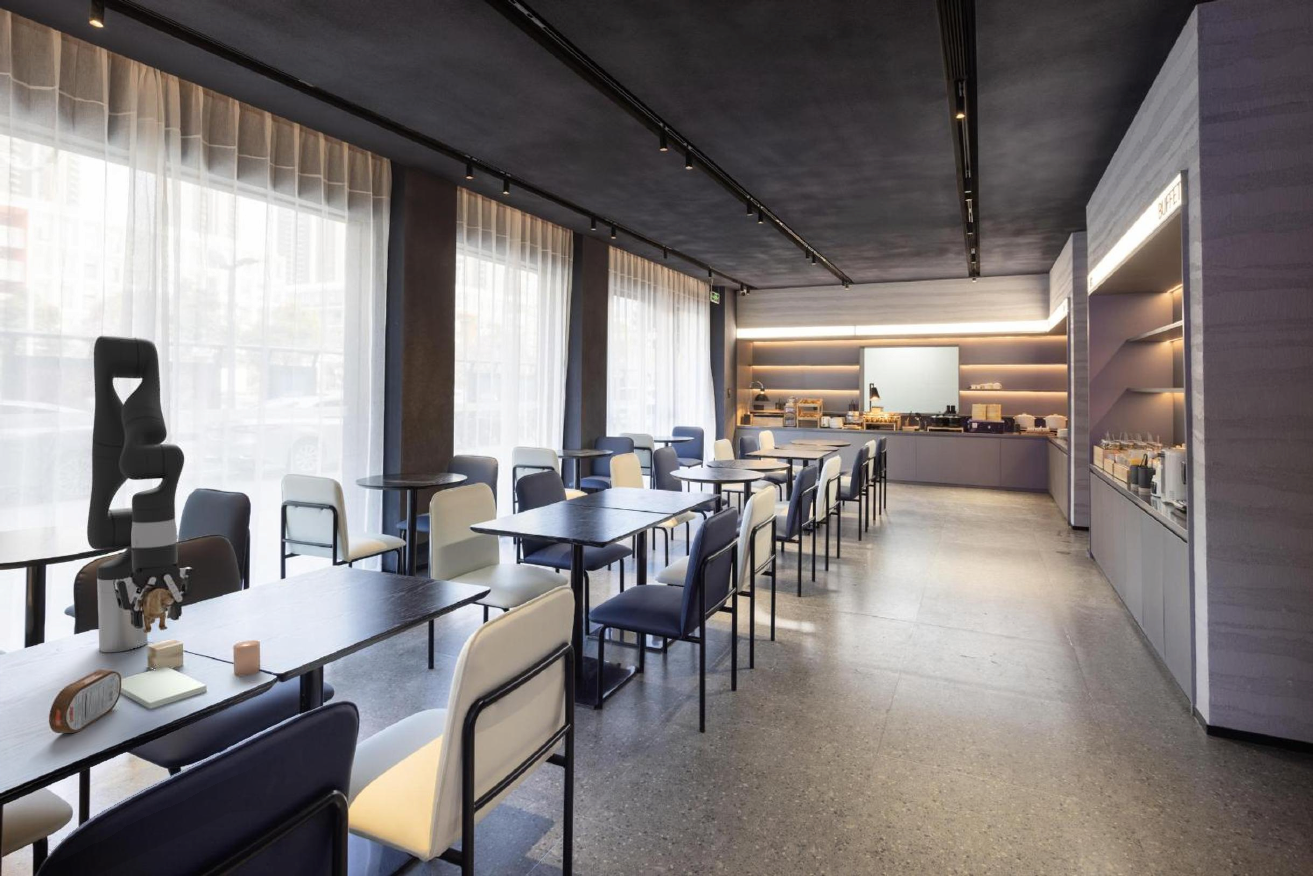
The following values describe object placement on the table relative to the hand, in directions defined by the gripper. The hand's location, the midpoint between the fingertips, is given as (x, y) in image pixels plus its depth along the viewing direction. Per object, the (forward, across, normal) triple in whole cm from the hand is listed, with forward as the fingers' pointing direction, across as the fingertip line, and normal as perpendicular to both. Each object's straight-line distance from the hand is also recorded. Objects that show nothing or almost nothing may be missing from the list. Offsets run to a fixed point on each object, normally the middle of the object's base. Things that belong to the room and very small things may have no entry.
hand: (156, 623), depth 141 cm
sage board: (+14, 0, 0) cm, 14 cm away
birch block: (+14, -6, -13) cm, 20 cm away
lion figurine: (+1, -1, -1) cm, 2 cm away
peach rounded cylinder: (+14, -15, +5) cm, 21 cm away
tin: (+14, +14, +6) cm, 20 cm away
